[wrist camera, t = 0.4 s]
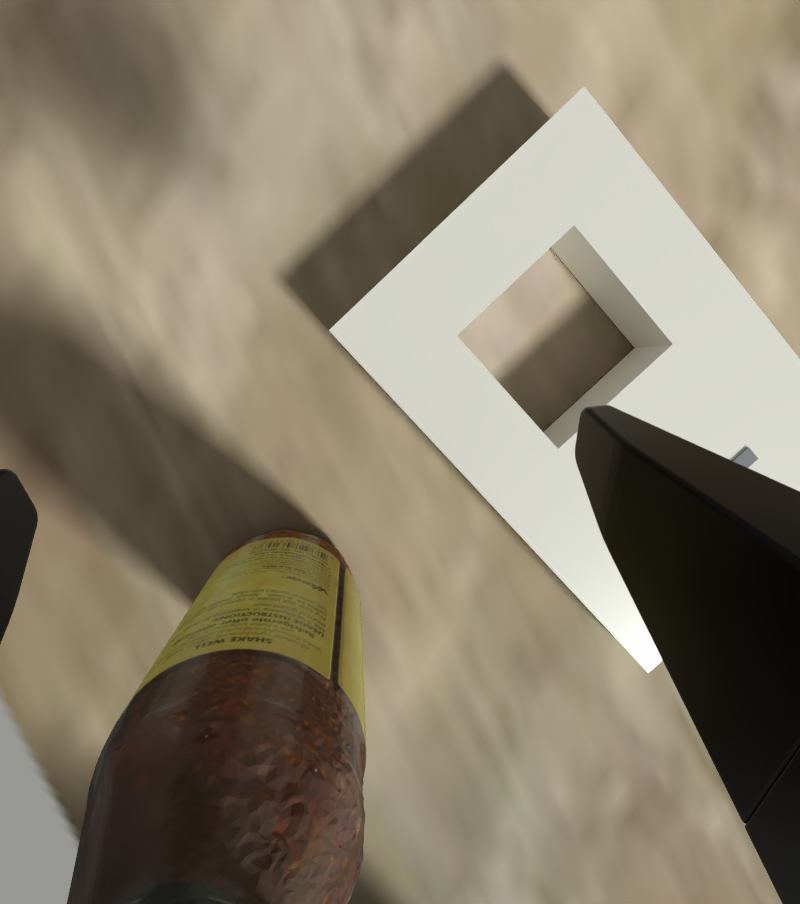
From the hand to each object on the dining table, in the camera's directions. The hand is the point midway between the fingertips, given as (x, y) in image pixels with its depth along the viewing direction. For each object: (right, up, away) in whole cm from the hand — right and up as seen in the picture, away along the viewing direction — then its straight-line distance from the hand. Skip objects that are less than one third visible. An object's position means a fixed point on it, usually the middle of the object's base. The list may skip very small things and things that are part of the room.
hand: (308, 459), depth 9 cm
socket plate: (+9, +2, +15) cm, 18 cm away
